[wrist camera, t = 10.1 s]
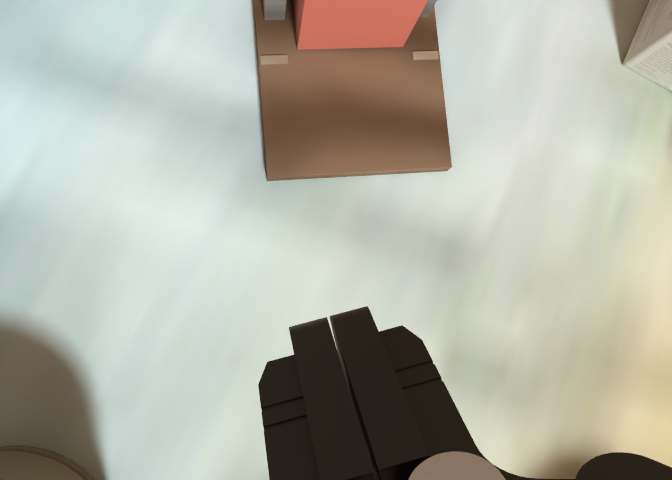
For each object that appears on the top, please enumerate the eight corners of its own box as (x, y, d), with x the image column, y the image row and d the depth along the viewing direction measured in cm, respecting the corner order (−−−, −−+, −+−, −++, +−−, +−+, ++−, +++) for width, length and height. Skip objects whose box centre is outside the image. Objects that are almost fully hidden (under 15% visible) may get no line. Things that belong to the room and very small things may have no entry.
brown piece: (446, 170, 38) (482, 143, 32) (267, 180, 36) (269, 153, 30) (417, -100, 40) (445, -173, 34) (246, -102, 38) (244, -178, 32)
